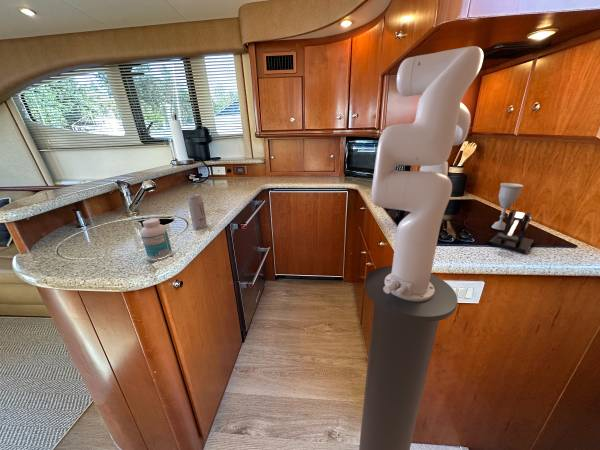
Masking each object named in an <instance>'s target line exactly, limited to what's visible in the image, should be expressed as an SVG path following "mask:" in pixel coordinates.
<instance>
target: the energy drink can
mask: <svg viewBox="0 0 600 450" xmlns="http://www.w3.org/2000/svg"><path fill="white" fill-rule="evenodd" d="M203 199H204V198H203V197H202V195H201V194H200V193H192V194H189V195H188V198H187V204H188V209H189V214H190V218H191V224H192V227H193V228H194V229H196V230H202V229H204V228H206V227H207V225H208V221H207V217H206V212H205V206H204V205H205V204H204V200H203ZM205 225H206V226H205Z"/></svg>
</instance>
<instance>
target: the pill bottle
mask: <svg viewBox="0 0 600 450" xmlns="http://www.w3.org/2000/svg"><path fill="white" fill-rule="evenodd" d="M160 223H161V221H160V219H159V218H149V219H145V220H143V221H142V226H143V228H142V229H141V230H140V236H141V239H142V242H143V246H144V249H145V250H144V251H145V252H146V255H147V259H148V258H149V259H148V261H150V262H161V261H165V260H167V259H169V258H171V257H172V255H173V250H172V247H171V242H170V238H169V234H168V230H167V227H166V226H165V225H164V224H160ZM171 253H172V254H171ZM169 254H171V255H169ZM167 255H169V256H167ZM165 256H167V257H165ZM162 257H165V258H162ZM158 258H162V259H158ZM150 259H157V260H150Z"/></svg>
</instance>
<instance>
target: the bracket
mask: <svg viewBox="0 0 600 450" xmlns="http://www.w3.org/2000/svg"><path fill="white" fill-rule="evenodd" d="M516 212H517V209H512V210H510V211H509V213H508V214H507V216H506V218H507V220H506V222H505V224H506V226H505V229H504V230H503V232H501V231H499V232H497V233H496V234H495V235H494V236H493V237H492V238H491V239H490V240H489V241H488V246H492V247H495V248H500V249H503V250H507V251H512V252H515V253H519V254H522V255H527V253H529V250H530V249H531V248H532V246H533V245H534V244H535V243H534V242H535V239H533V238H532V239H531V238H528V237H525V235H526V233H527V229H528V226H529V224H530V222H532V218H533V217H532V214H533V213H532V212H530V211H529V212H528V211H527V213H525V217H524V220H523V221H522V223H521V227H520V230H519V232H518V235H514V234H513V235H512V236H513V237H517V238H519V241H518V243H514V242H510V241H506V240H501V239H498V235H499V234H504V235H507V234H508V233H509V231H510V229H511V227H512V225H513V223H514V222H513V220H514V216H515V214H516Z"/></svg>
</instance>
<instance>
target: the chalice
mask: <svg viewBox="0 0 600 450" xmlns="http://www.w3.org/2000/svg"><path fill="white" fill-rule="evenodd" d="M523 187H524V185H523V184H519V183H515V182H514V183H512V182H501V183H500V188H499V193H498V202H499V205H500V207H501V208H502V210H501V212H500V215H499V220H498V221H495V222H494V223H493V224H492V225H491V228H492V229H495V230H499V231H504V229H505V226H506V222H504V219H505V218H506V216H505V215H506V214H507V209H509V208H511V207H512V206H513V205H514V204H515V203H516V201H517V200H518V198H519V196H520V193H521V189H522V188H523Z"/></svg>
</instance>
